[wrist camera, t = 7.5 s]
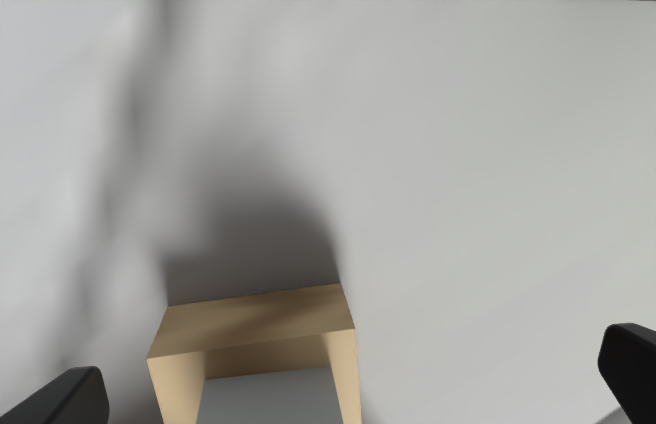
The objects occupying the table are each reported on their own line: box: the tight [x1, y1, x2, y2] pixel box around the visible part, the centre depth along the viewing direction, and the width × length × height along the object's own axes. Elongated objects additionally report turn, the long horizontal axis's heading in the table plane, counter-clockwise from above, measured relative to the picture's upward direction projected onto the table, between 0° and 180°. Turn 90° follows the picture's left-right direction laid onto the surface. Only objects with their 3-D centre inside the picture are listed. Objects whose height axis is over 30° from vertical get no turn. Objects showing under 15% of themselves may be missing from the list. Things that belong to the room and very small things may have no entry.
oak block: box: [146, 283, 362, 424], centre depth 20 cm, size 8×8×4 cm
